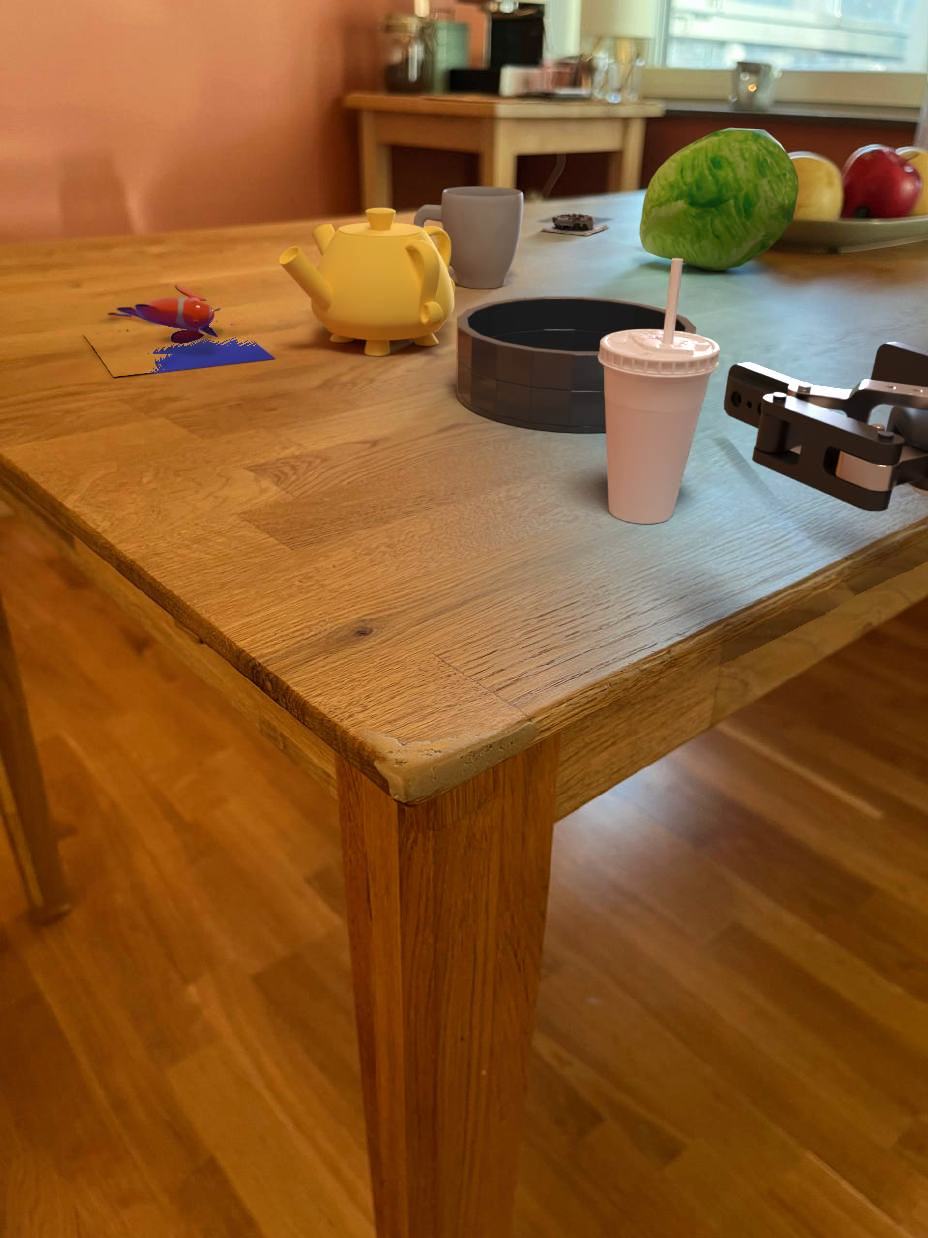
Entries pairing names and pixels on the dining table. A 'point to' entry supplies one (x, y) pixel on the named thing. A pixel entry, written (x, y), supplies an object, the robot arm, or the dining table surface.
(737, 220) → the lettuce
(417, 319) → the teapot
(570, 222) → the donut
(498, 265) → the mug
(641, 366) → the smoothie
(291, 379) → the dining table surface
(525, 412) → the pot
